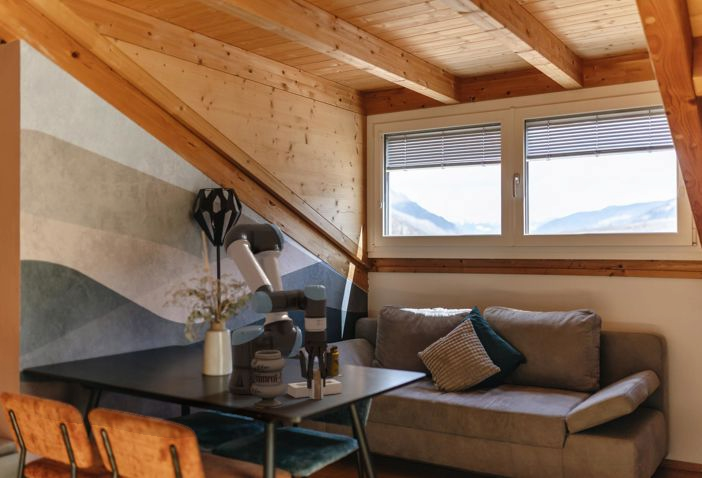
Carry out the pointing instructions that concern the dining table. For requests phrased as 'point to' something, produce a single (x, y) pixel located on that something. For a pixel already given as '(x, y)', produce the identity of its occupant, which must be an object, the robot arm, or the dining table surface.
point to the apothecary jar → (268, 378)
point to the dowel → (317, 384)
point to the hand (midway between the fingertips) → (316, 397)
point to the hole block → (303, 391)
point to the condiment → (333, 362)
